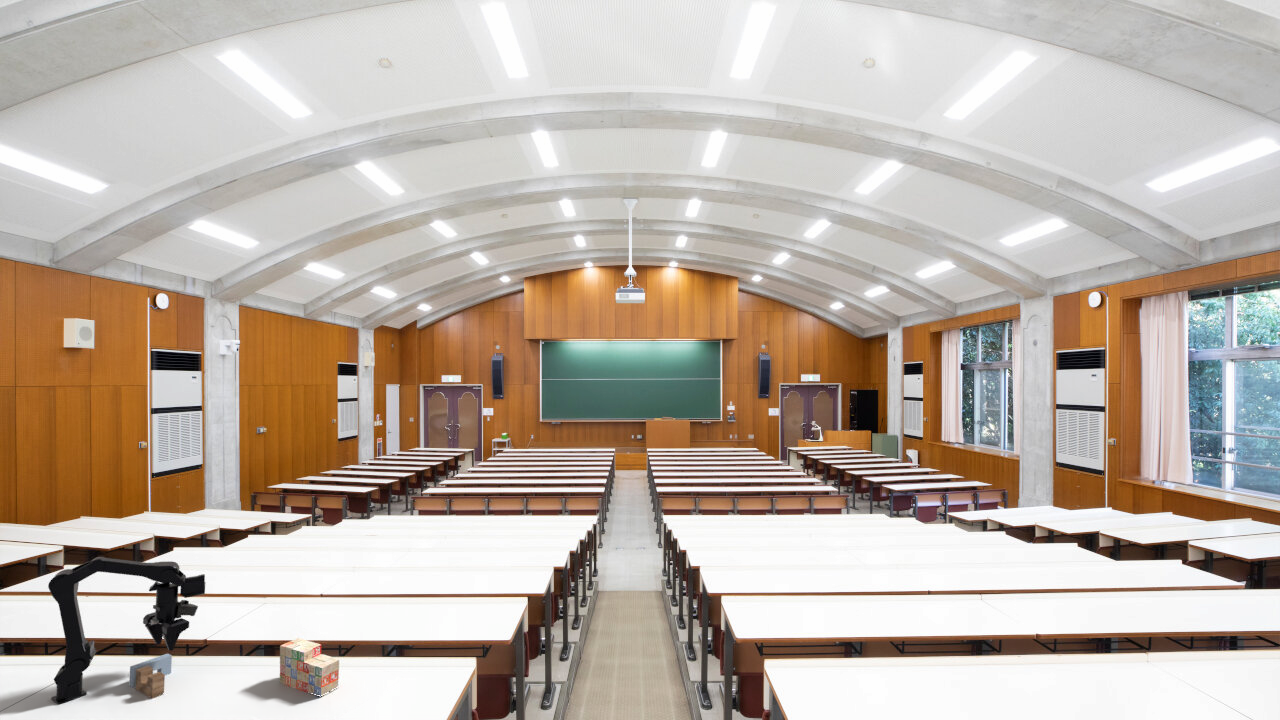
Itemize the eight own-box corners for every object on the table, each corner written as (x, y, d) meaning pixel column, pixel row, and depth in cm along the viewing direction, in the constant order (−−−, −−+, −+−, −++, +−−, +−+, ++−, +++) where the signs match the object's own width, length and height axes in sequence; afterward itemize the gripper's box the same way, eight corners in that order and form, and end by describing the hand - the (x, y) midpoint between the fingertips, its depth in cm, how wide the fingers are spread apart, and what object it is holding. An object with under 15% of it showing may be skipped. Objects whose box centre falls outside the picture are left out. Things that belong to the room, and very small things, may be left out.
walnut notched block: (135, 688, 177) (136, 669, 177) (147, 684, 180) (147, 665, 180) (152, 698, 171) (152, 679, 172) (163, 693, 174) (164, 674, 174)
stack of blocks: (339, 688, 177) (339, 649, 178) (320, 698, 171) (321, 658, 172) (297, 673, 186) (298, 636, 187) (278, 682, 181) (279, 644, 181)
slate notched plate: (133, 687, 178) (134, 668, 178) (129, 685, 179) (130, 666, 179) (171, 673, 186) (171, 655, 187) (167, 671, 188) (167, 653, 188)
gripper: (208, 597, 190) (206, 643, 189) (182, 588, 199) (180, 632, 198) (168, 609, 180) (166, 657, 179) (143, 598, 189) (141, 645, 188)
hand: (164, 647), depth 186 cm, fingers open, 9 cm apart
